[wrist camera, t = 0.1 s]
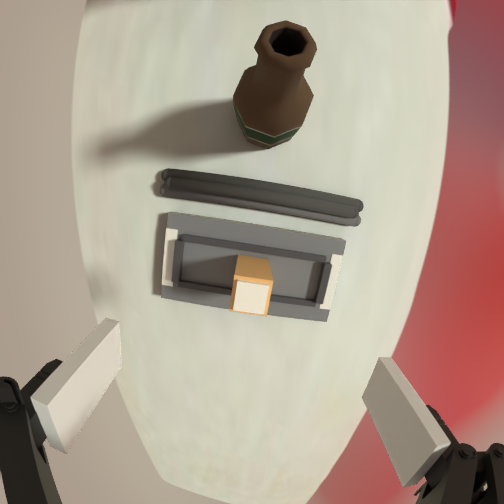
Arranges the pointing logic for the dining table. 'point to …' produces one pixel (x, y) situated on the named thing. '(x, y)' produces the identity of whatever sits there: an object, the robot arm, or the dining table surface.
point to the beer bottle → (276, 85)
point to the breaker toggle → (251, 286)
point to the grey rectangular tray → (256, 245)
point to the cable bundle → (261, 196)
